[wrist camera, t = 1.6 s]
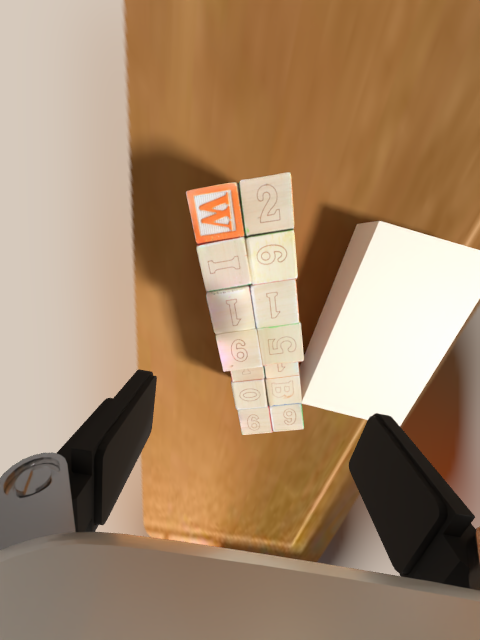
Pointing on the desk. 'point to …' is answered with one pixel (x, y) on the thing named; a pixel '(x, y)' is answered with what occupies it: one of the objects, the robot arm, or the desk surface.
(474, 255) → the block
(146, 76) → the desk surface
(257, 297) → the stack of blocks
